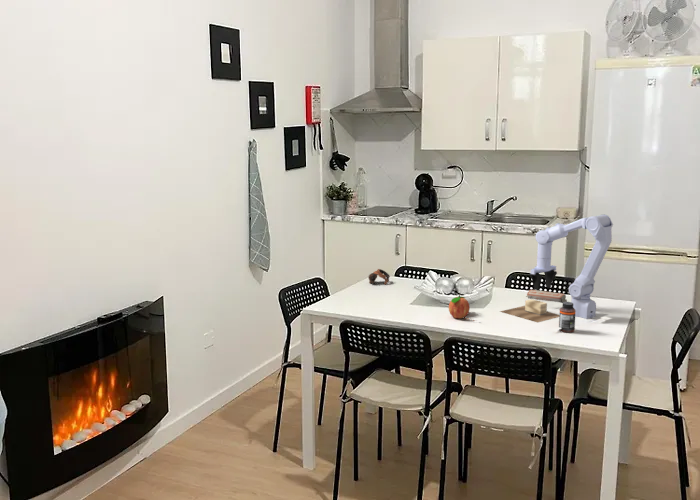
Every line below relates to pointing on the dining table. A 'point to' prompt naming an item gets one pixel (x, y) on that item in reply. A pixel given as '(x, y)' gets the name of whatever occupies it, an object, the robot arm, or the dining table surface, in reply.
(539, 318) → the walnut board
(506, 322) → the dining table surface
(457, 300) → the fruit
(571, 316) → the supplement bottle
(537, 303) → the block
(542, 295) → the packaged product
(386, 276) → the brown arch piece
